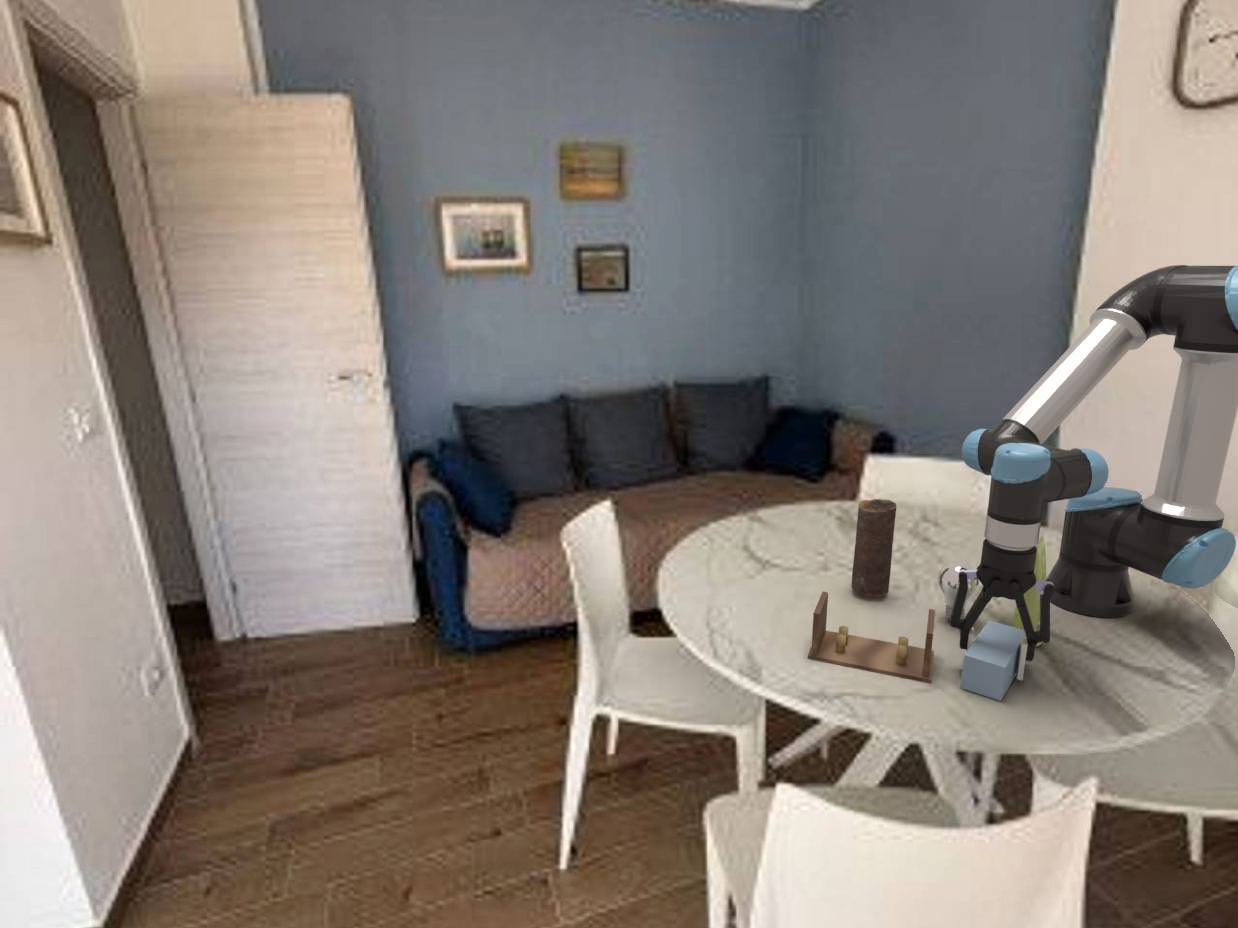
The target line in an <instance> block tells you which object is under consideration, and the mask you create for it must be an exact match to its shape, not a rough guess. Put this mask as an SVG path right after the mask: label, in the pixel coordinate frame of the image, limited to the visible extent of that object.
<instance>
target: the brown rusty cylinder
mask: <svg viewBox="0 0 1238 928" xmlns="http://www.w3.org/2000/svg"><path fill="white" fill-rule="evenodd" d="M857 508H858V509H857V520H856V531H855V544H854V553H853V554H854V556H853V564H852V572H851V573H852V574H851V586H850V587H851V588H852V590H853V592H854V593H855V594H857V595H859V596H869V597H875V598H878V597H883V596H886V595H887V594H888V593H889V589H890V581H891V568H892V567H891V566H892V555H893V547H894V546H893V543H894V532H895V522H896V515H897V504H896V502H894V501H892V500H890V499H887V498H884V499H882V498H873V499H870V500H869V499H864V500H861V501H860V502H859V503H858V507H857Z"/></svg>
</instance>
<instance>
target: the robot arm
mask: <svg viewBox="0 0 1238 928" xmlns="http://www.w3.org/2000/svg"><path fill="white" fill-rule="evenodd" d="M1160 335H1166V336H1175V337H1174V341H1173V347H1172V349H1173V350H1174V351H1175V353H1176V354H1178V356H1179V357H1180V358H1181V362H1180V366H1179V373H1178V377H1177V381H1176V387H1175V391H1174V396H1173V402H1172V406H1171V410H1170V416H1169V421H1168V425H1167V430H1166V435H1165V439H1164V446H1163V449H1162V454H1161V460H1160V463H1159V469H1158V473H1157V479H1156V484H1155V488H1154V493H1153V494H1151V495H1149V496H1148V497H1145V498H1143V496H1142V493H1140V492H1138V491H1136V490H1133V489H1129V488H1123V487H1122V488H1121V487H1114V486H1113V487H1110V486H1106V484H1107V482H1108V478H1109V473H1110V472H1109V471H1110V469H1109V467H1108V464H1107V461H1106V459H1105V457H1103V456H1102V454H1101V453H1100V452H1098V451H1096V450H1094V449H1091V448H1084V447H1083V448H1079V447H1076V448H1075V447H1073V448H1071V449H1062V448H1059V447H1055V446H1051V445H1047V444H1043V443H1044V442H1045V441H1046V440H1047V439H1048V438H1049V437H1050V436H1051V435H1052V434H1053V432H1055V430H1056V429H1057V428H1058V427H1059V426H1060V425H1061V424H1062V423H1063V422H1064V421H1065V420H1066V419H1067V418H1068V417H1069V415H1071V414H1072V412H1073V411H1074V410H1075V409H1076V408H1077V407H1078V406H1079V404H1081V402H1082V401H1084V399H1085V398H1087V396H1089V394H1090V393H1091V392H1092V391H1093V390H1094V389H1095V387H1097V386H1098V384H1099V383H1100V382H1101V381H1102V380H1103V379H1104V378H1105V377H1106V376H1107V374H1109V372H1110V371H1112V369H1114V367H1115V366H1116V365H1117V364H1118V363H1119V362H1120V361H1121V360H1122V359H1123V357H1125V355H1127V353H1128V352H1129V351H1133V350H1137V349H1140V348H1141V347H1142V346H1143V345H1145V343H1146V342H1147V341H1148V340H1149V339H1150V338H1152V337H1156V336H1160ZM1237 412H1238V265H1186V264H1177V265H1168V266H1164V267H1159V268H1157V269H1154V270H1151V271H1150V272H1147V273H1144V274H1143V275H1141V276H1139V277H1137V278H1135V279H1133V280H1132V281H1130V282H1129V283H1127V284H1125V285H1124V286H1123V287H1121V288H1119V289H1118V290H1117V291H1115V292H1114V293H1112V295H1110V296H1109V297H1108V298H1107V299H1106V300H1105V301H1104V302H1102V304H1100V306H1099V307H1098V308H1097V309H1096V310H1095V311H1094V312H1093V313H1092V314H1091V315H1090V317H1089V326H1088V327H1087V328H1086V329H1085V330H1084V331H1083V332H1082V333H1081V335H1080V336H1079V337H1078V338H1077V339H1076V340H1075V341H1074V342H1073V343H1072V344H1071V345H1070V346H1069V347H1068V348H1067V350H1065V352H1063V354H1061V356H1060V357H1059V358H1058V359H1057V360H1056V361H1055V362H1054V364H1052V366H1050V367H1049V369H1048V370H1047V371H1046V372H1045V373H1044V374H1043V375H1042V376H1041V378H1039V380H1038V381H1037V382H1036V383H1034V385H1033V386H1032V387H1031V388H1030V389H1029V390H1028V391H1027V392H1026V393H1025V395H1024V396H1022V398H1021V399H1020V400H1019V401H1018V402H1017V403H1016V404H1015V405H1014V406H1013V407H1012V409H1010V410H1009V411H1008V412H1007V414H1006V415H1005V416H1004V417H1003V418H1001V420H1000V421H999V422H998V423H997V425H995V427H994V428H992V429H989V428H979V429H976V430H973V431H971V432H970V433H969V434H968V435H967V436H966V438H965V439H964V442H963V443H962V447H961V458H962V459H963V461H964V464H965V465H966V466H968V468H970V469H972V470H974V471H976V472H979V473H981V474H983V475H985V476H990V477H991V478H990V485H989V494H988V495H989V496H988V505H987V511H986V512H987V513H986V519H985V526H984V535H983V536H984V538H985V539H983V542H982V548H981V549H982V550H981V557H980V563H979V565H977V567H976V569H974V570H966V569H965V568H960V569H959V587H958V591H957V595H956V598H955V602H954V606H953V610H952V613H951V618H950V619H949V621H950V623H949V624H950V625H949V626H950V627H952V629H953V628H954V629H958V630H959V631H960V636H959V648H960V649H961V650H965V653H966V652H967V650H968V649H969V648H970V646H971V645H972V643H973V642H974V641H975V628H974V625H975V624H976V623H977V621H978V618H980V616H981V614H982V613H983V611H984V610H985V608H986V606H987V605H988V603H990V601H991V600H992V598H1003V599H1008V600H1011V601H1015V606H1016V605H1017V608H1018V611H1019V614H1020V617H1021V621H1022V624H1023V627H1024V630H1025V634H1026V637H1025V636H1021V641H1020V648H1019V655H1018V662H1017V669H1016V680H1019V681H1023V679H1024V672H1025V665H1026V664H1025V663H1026V661H1027V662H1033V660H1034V657H1035V650H1036V647H1037V646H1036V645H1037V643H1039V642H1042V643H1044V644H1048V643H1050V641H1051V604H1054V605H1056V606H1057V607H1060V608H1062V609H1065V610H1067V611H1069V612H1073V613H1075V614H1076V613H1077V614H1080V615H1084V616H1088V617H1089V616H1091V617H1098V618H1119V617H1124V616H1127V615H1129V614H1131V613H1132V611H1133V606H1134V601H1135V598H1134V592H1133V587H1132V583H1131V577H1130V574H1129V568H1131V569H1134V570H1135V571H1139V572H1141V573H1144V574H1146V575H1149V576H1151V577H1154V578H1157V579H1159V580H1161V581H1162V582H1164V583H1167V584H1172V585H1176V586H1179V587H1182V588H1186V589H1192V590H1195V589H1200V588H1202V587H1206V586H1207V585H1209V584H1210V583H1212V582H1213V581H1215V580H1216V579H1217V578H1218V577H1219V576H1221V574H1222V573H1223V572H1224V571H1225V569H1226V568H1227V567H1228V565H1229V564H1230V562H1231V560H1232V558H1233V556H1234V553H1235V551H1236V545H1237V544H1236V543H1237V541H1236V539H1235V538H1236V537H1235V535H1234V533H1233V532H1232V531H1230V530H1229V529H1227V528H1225V527H1224V528H1223V524H1224V519H1225V516H1226V515H1225V513H1224V511H1223V510H1222V509H1221V508H1220V507H1219V505H1217V499H1218V494H1219V491H1220V490H1219V489H1220V486H1221V482H1222V477H1223V474H1224V473H1223V472H1224V469H1225V465H1226V460H1227V458H1228V457H1227V456H1228V453H1229V452H1228V451H1229V448H1230V444H1231V443H1230V442H1231V440H1232V439H1231V438H1232V435H1233V434H1232V433H1233V430H1234V427H1235V421H1236V417H1237ZM1063 500H1067V504H1066V508H1065V509H1064V511H1065V514H1064V520H1063V527H1062V533H1061V534H1062V535H1061V541H1060V547H1059V555H1058V559H1057V560H1056V561H1055V564H1054V565H1053V567H1052V569H1051V571H1050V572H1049V573H1048V575H1047V576H1046V580H1045V581H1044V580H1041V579H1038V578H1036V576H1035V574H1034V567H1035V560H1036V554H1037V548H1036V545H1037V544H1038V541H1039V539H1040V532H1041V524H1042V517H1043V509H1044V505H1045V504H1048V503H1052V502H1057V501H1063ZM976 577H977V578H978V579H979V583H980V584H981V585H982V588H981V590H980V592H979V593H978V596H977V598H976V599H975V600H974V602H973V603H972V605H971V607H970V608H969V610H968V612H967V613H966V615H964V618H962V619H960V617H961V613H962V609H963V606H964V602H965V598H966V595H967V591H968V584H971V583H972V582H973V579H974V578H976ZM1034 585H1035V586H1036V587H1037V592H1038V593H1039V594H1040V631H1036V632H1034V628H1033V625H1032V622H1031V618H1030V615H1029V612H1028V609H1027V605H1026V602H1025V599H1024V595H1023V594H1024V593H1026V592H1027V591H1028V590H1029V589H1030V588H1032V587H1033V586H1034Z"/></svg>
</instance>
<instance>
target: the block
mask: <svg viewBox="0 0 1238 928" xmlns="http://www.w3.org/2000/svg"><path fill="white" fill-rule="evenodd" d="M1021 636H1025V637H1026V634H1025V630H1022V629H1019V628H1015V627H1012V625H1008V624H1004V623H1000V622H996V621H994V620H993V621H992V620H988V621H987V622H986V624H985V625H984V626H983V627H982V629H981V631H980V632H979V633H978V635H977V636H976V637H975V638H974V640H973V643H972V645H971V646H970V648H969V649H968V650H967V652H966V651H965V652H964V654H963V655H964V656H963V663H962V664H963V665H962V671H961V672H962V673H961V679H960V688H961V689H964V690H965V691H969V692H972V693H975V694H978V695H982V696H983V697H987V698H990V699H994V700H996V701H999V702H1001V701H1002V700H1003V698H1004V696H1005V694H1006V693H1007V691H1008V689H1009V688H1010V686H1011V685H1012V682H1013V681H1014V679H1015V677H1016V676H1017V674H1016V669H1017V662H1018V655H1019V648H1020V641H1021Z"/></svg>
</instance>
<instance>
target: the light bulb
mask: <svg viewBox="0 0 1238 928" xmlns="http://www.w3.org/2000/svg"><path fill="white" fill-rule="evenodd" d="M960 568H965V569H966V570H975V568H974V567H973V566H972V565H970V564H968V563H966V562H965V561H959V560H958V561H952V562H951V561H950V562H948V563H947V564H945V565H944V566H943V567H942V568H941V570H939V571H940V572H939V573H938V578H937V579H938V580H937V581H938V586H939V589H940V590H941V592H942V593H943V597H944V602H945V611H944V614H945V616H946V618H947V619H949V620H950V618H951V613H952V610H953V606H954V602H955V598H956V595H957V591H958V587H959V569H960ZM979 585H980V581H979V579H978V578H977V577H976V578H974V579H973V582H972V583H971V584H968V591H967V595H966V598H965V602H964V606H963V609H962V613H961V617H960V619H962V620H963V619H964V618H965V611H966V607H967V605H968V603H969V600H970V599H971V598H972V597H973V596H974V595H975V593H977V591H978V589H979Z"/></svg>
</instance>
